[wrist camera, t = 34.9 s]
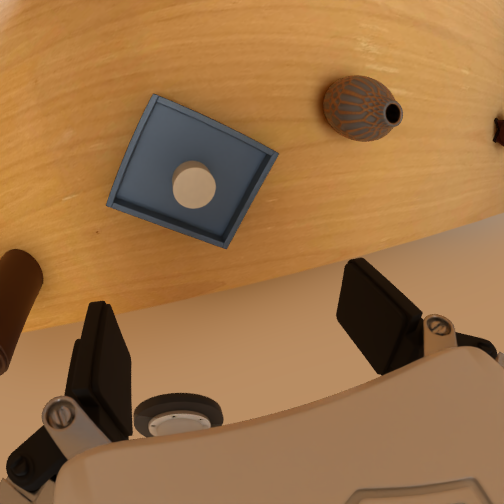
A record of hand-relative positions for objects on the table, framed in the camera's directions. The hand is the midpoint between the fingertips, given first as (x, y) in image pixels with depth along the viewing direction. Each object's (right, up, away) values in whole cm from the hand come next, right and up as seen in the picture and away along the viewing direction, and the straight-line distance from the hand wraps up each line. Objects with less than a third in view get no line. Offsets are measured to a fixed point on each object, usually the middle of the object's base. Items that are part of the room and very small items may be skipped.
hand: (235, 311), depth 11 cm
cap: (-5, +9, +17) cm, 20 cm away
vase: (+10, +18, +18) cm, 27 cm away
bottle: (-27, 0, +16) cm, 31 cm away
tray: (-5, +10, +17) cm, 20 cm away
